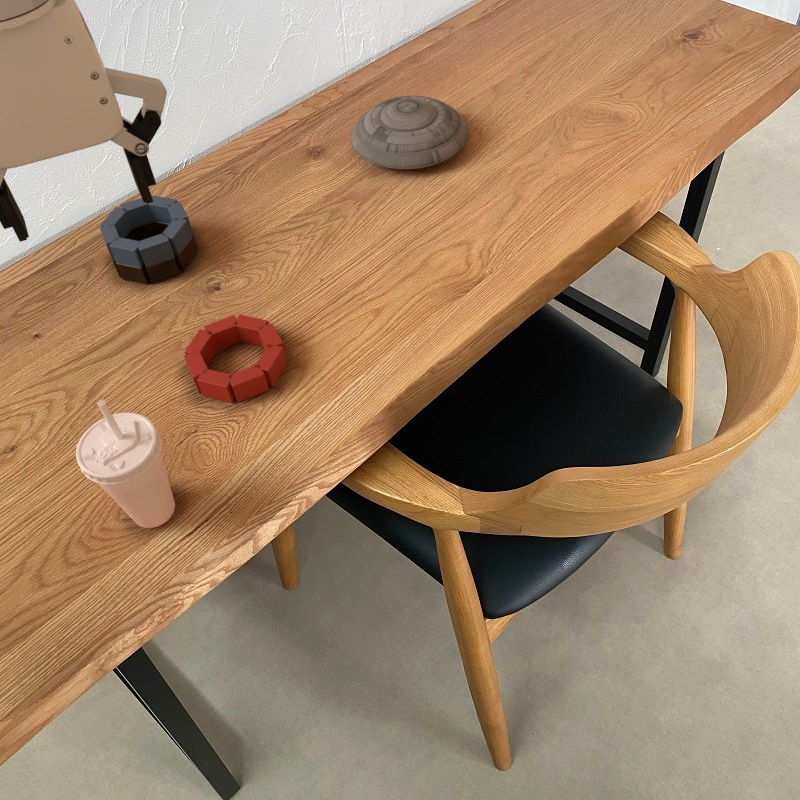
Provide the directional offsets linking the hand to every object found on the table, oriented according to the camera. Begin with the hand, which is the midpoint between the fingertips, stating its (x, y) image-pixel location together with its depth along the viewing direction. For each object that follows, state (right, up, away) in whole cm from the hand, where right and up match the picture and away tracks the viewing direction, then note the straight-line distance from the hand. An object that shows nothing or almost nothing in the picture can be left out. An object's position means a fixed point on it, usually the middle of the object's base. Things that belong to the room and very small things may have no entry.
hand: (84, 212), depth 62 cm
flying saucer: (+26, +18, +40) cm, 51 cm away
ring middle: (-3, +3, +27) cm, 27 cm away
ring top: (+9, -11, +17) cm, 22 cm away
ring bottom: (-3, +2, +29) cm, 29 cm away
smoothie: (+3, -24, +7) cm, 26 cm away
